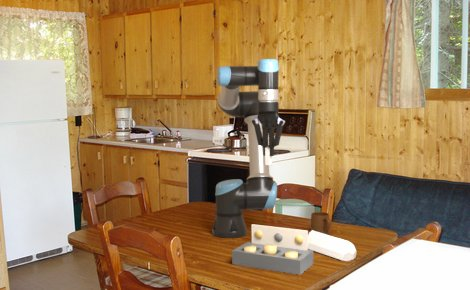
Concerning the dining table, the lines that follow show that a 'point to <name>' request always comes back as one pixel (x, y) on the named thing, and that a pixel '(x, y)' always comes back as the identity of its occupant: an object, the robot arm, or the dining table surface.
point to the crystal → (331, 246)
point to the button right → (291, 254)
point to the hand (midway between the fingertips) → (268, 164)
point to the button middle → (270, 249)
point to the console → (284, 242)
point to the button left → (250, 248)
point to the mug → (320, 222)
